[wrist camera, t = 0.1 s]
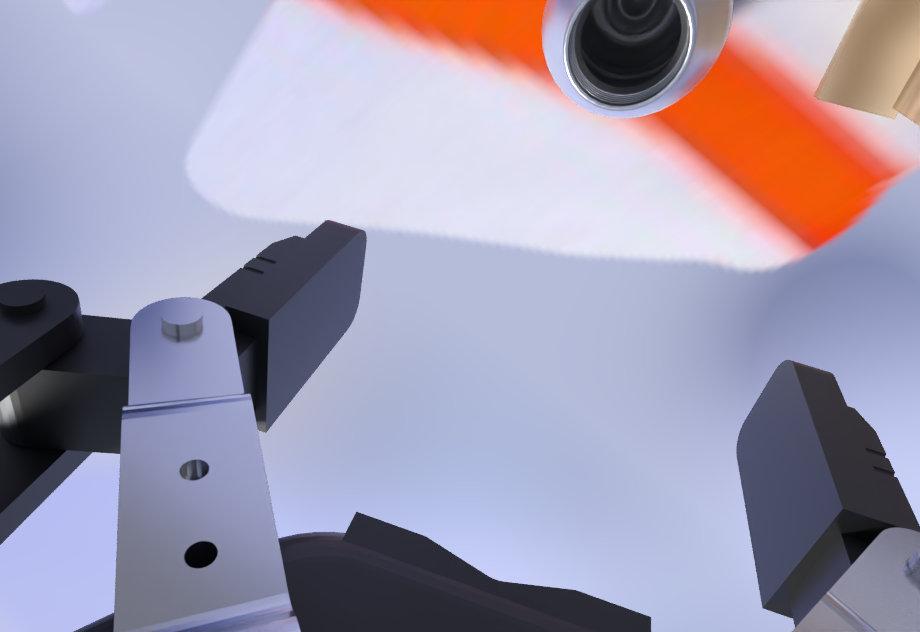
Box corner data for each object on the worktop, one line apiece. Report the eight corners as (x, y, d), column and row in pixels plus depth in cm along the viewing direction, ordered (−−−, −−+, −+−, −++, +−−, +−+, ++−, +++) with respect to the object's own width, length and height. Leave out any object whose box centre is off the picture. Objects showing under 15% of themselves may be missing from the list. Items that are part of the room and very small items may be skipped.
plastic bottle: (552, 4, 35) (465, 54, 19) (648, -105, 32) (646, -162, 15) (629, 87, 36) (611, 204, 20) (729, -8, 33) (810, 37, 16)
